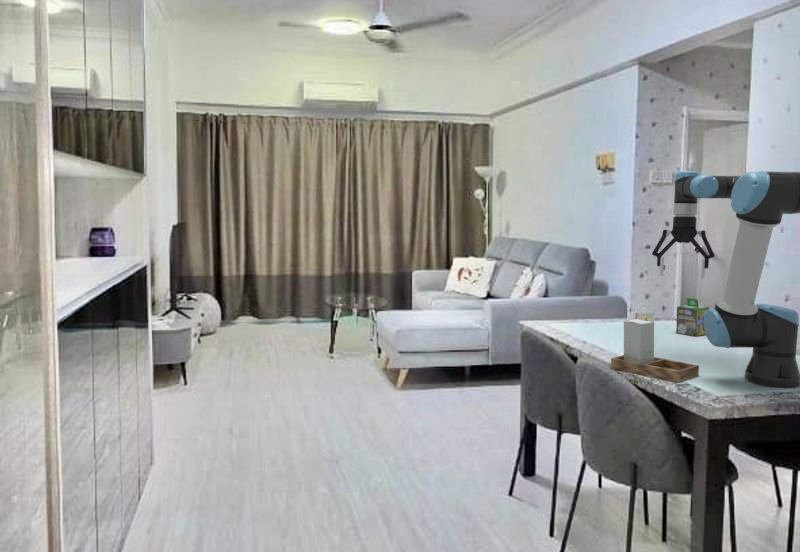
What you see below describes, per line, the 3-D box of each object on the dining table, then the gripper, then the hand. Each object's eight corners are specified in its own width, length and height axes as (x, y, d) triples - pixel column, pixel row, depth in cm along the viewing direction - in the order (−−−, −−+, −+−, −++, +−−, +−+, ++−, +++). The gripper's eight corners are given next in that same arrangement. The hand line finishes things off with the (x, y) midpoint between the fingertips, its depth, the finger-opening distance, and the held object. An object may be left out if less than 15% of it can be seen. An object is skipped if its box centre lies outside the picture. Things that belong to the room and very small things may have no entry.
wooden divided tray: (698, 375, 221) (699, 365, 221) (678, 382, 213) (678, 371, 212) (632, 362, 239) (632, 352, 238) (610, 368, 230) (611, 358, 230)
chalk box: (708, 334, 289) (710, 298, 287) (695, 337, 284) (697, 300, 282) (688, 331, 297) (690, 296, 295) (675, 333, 291) (677, 297, 290)
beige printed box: (633, 336, 283) (634, 312, 282) (651, 337, 282) (652, 312, 281) (635, 338, 279) (636, 313, 278) (653, 339, 278) (654, 314, 277)
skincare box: (654, 367, 227) (656, 322, 226) (639, 369, 225) (642, 323, 223) (635, 362, 235) (637, 317, 233) (621, 363, 233) (623, 319, 231)
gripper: (724, 216, 243) (721, 278, 245) (649, 215, 255) (646, 274, 257) (723, 216, 237) (719, 279, 238) (645, 215, 248) (642, 275, 250)
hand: (681, 277), depth 248 cm, fingers open, 13 cm apart
